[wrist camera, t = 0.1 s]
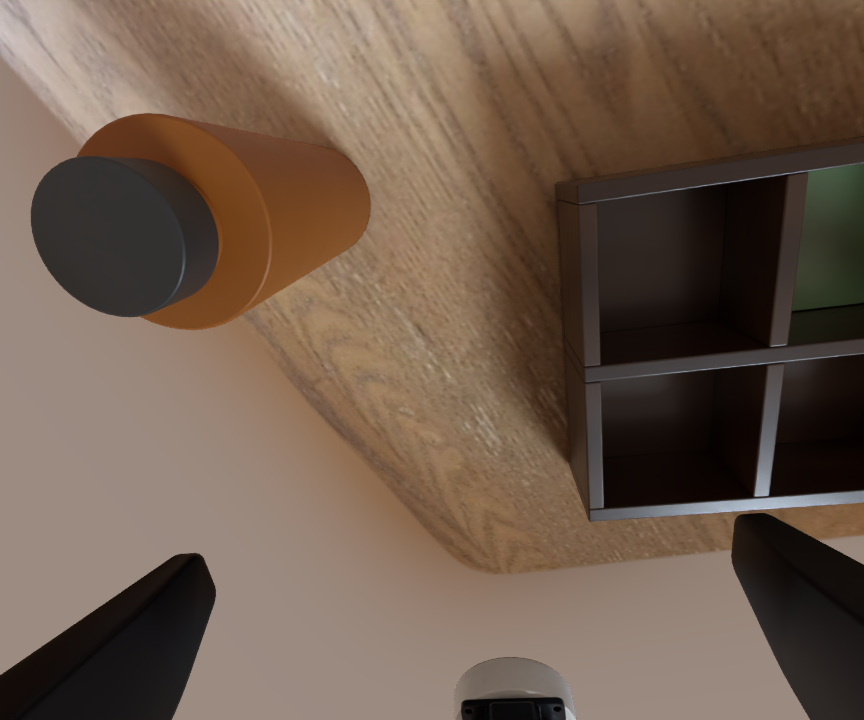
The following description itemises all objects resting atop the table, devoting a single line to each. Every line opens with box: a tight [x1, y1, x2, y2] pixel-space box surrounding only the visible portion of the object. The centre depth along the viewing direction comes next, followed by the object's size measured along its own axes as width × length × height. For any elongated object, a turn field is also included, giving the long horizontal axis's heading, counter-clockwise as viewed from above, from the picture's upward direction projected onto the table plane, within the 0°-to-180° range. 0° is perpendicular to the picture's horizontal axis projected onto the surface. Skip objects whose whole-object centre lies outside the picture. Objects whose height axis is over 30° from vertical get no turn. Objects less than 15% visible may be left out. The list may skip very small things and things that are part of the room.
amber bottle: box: [31, 113, 370, 330], centre depth 16 cm, size 5×5×14 cm
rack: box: [555, 136, 864, 522], centre depth 21 cm, size 15×15×5 cm
